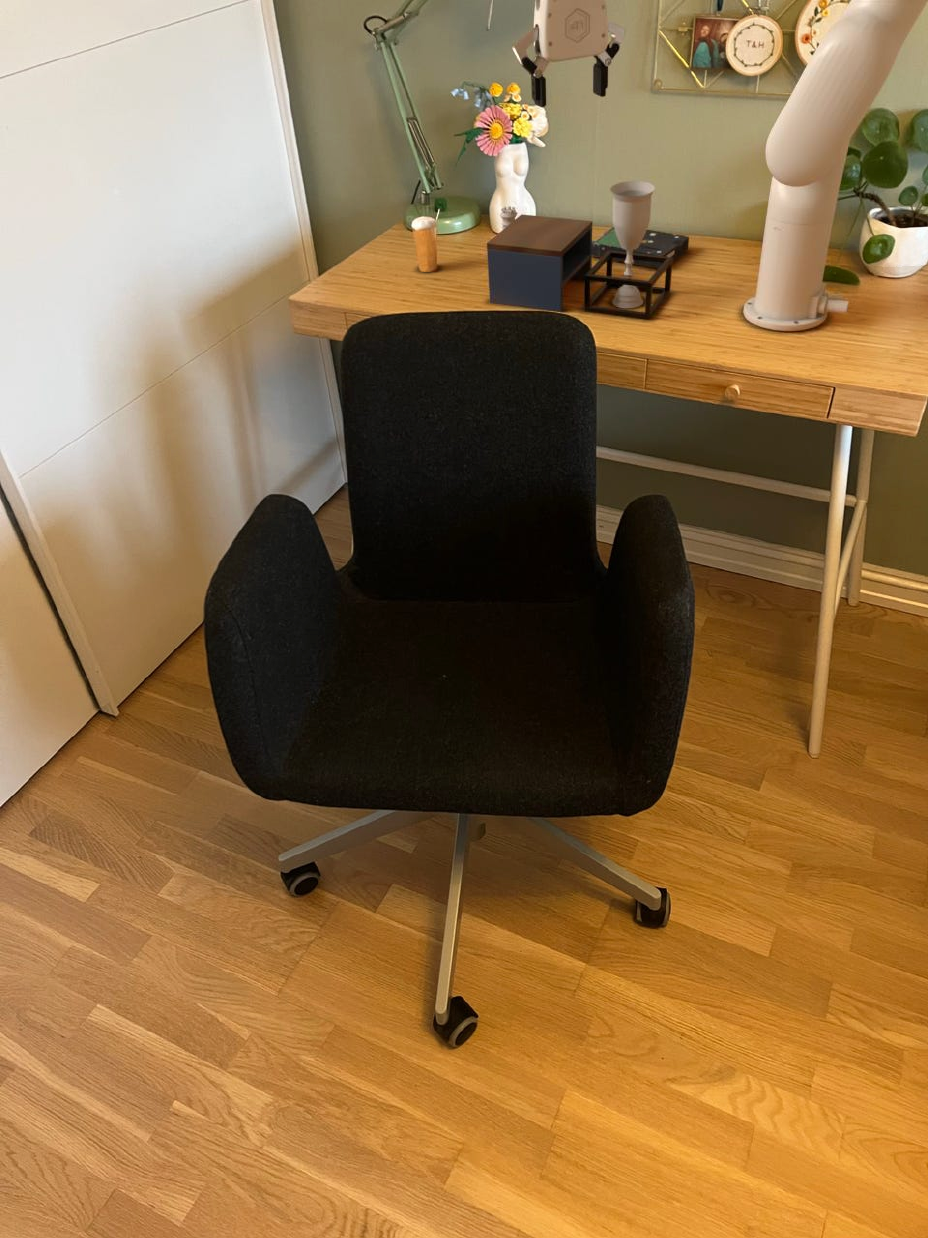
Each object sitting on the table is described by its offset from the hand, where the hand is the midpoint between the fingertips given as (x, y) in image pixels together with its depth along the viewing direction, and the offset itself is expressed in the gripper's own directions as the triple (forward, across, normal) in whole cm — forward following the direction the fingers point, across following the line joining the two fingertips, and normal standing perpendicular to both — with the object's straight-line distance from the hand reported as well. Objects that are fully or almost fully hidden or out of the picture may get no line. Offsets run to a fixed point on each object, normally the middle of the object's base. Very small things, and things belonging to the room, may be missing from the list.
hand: (570, 99), depth 145 cm
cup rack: (+30, +6, -8) cm, 32 cm away
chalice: (+30, +6, -8) cm, 32 cm away
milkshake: (+29, -19, +22) cm, 41 cm away
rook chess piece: (+30, -3, +22) cm, 37 cm away
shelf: (+30, -4, +2) cm, 30 cm away
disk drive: (+30, +18, +10) cm, 36 cm away
